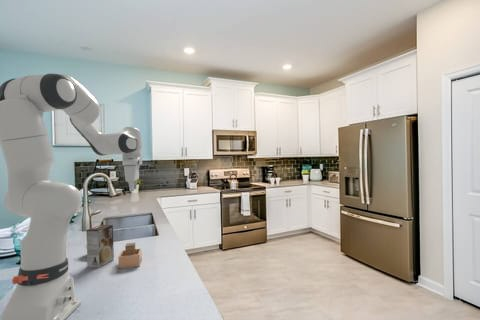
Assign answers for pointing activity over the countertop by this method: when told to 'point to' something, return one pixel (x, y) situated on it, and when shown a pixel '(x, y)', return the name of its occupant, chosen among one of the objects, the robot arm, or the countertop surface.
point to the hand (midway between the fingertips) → (133, 189)
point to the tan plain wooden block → (130, 249)
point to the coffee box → (99, 245)
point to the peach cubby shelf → (130, 259)
